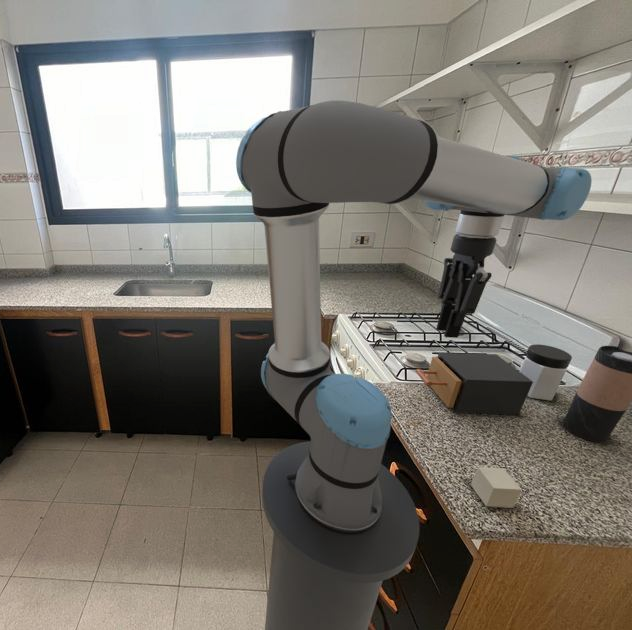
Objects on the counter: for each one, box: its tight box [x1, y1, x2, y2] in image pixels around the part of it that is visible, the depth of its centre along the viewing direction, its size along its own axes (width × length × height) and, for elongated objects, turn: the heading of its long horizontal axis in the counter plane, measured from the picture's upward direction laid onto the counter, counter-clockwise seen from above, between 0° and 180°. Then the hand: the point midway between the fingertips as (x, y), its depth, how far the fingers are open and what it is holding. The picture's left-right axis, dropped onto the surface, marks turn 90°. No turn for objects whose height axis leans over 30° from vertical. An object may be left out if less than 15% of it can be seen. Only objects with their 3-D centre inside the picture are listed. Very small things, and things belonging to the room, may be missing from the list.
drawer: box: [415, 356, 464, 409], centre depth 88 cm, size 18×11×8 cm, turn 86°
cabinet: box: [437, 352, 533, 416], centre depth 88 cm, size 15×13×10 cm
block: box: [470, 466, 523, 509], centre depth 62 cm, size 5×5×5 cm
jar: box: [518, 343, 573, 402], centre depth 90 cm, size 9×8×12 cm
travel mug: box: [562, 345, 632, 443], centre depth 74 cm, size 8×8×20 cm
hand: (446, 333), depth 83 cm, fingers open, 3 cm apart
